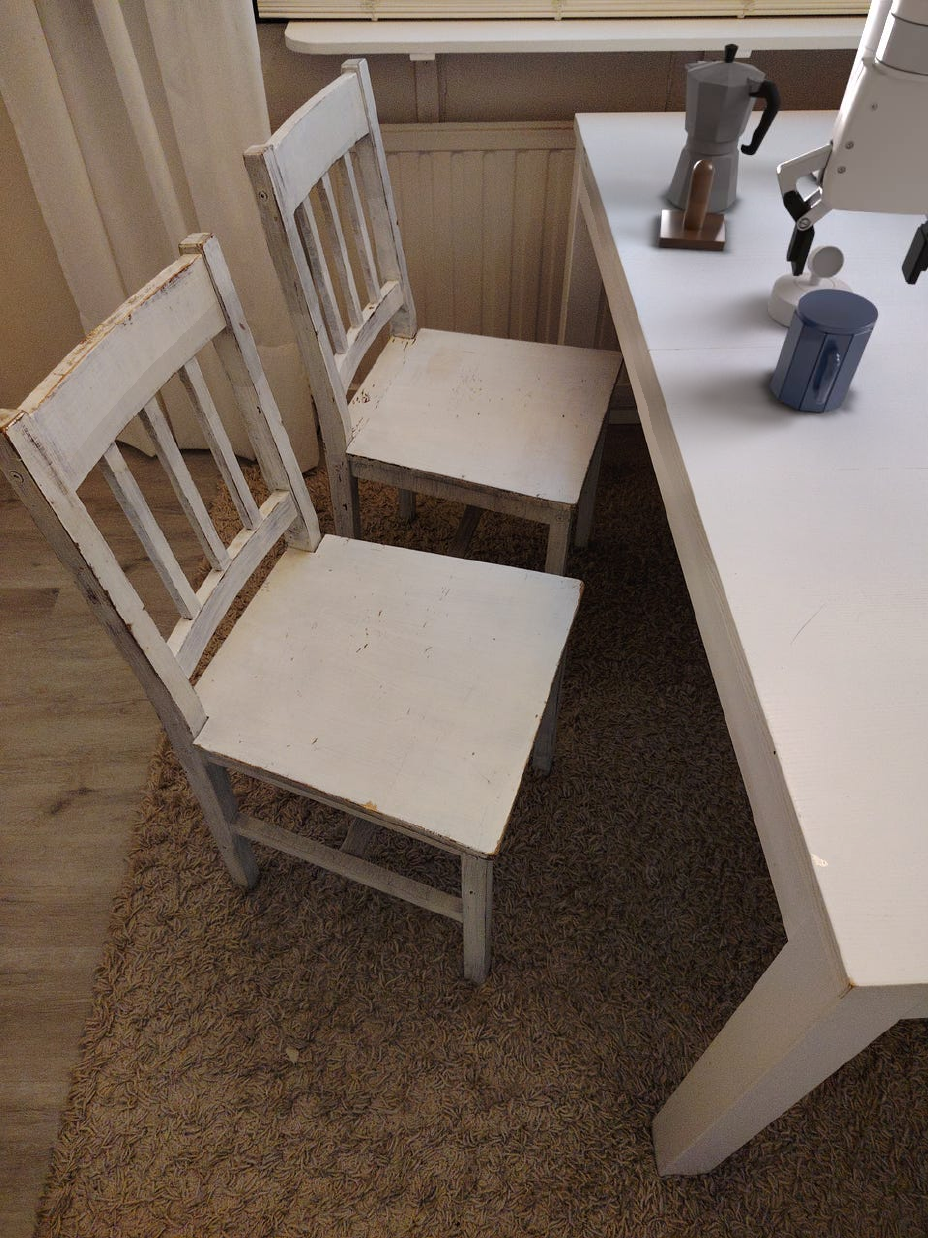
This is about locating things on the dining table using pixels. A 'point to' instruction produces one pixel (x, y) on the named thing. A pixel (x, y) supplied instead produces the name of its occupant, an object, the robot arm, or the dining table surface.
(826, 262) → the wall hook
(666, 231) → the cup stand
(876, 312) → the cup
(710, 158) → the coffeepot
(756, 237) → the dining table surface
